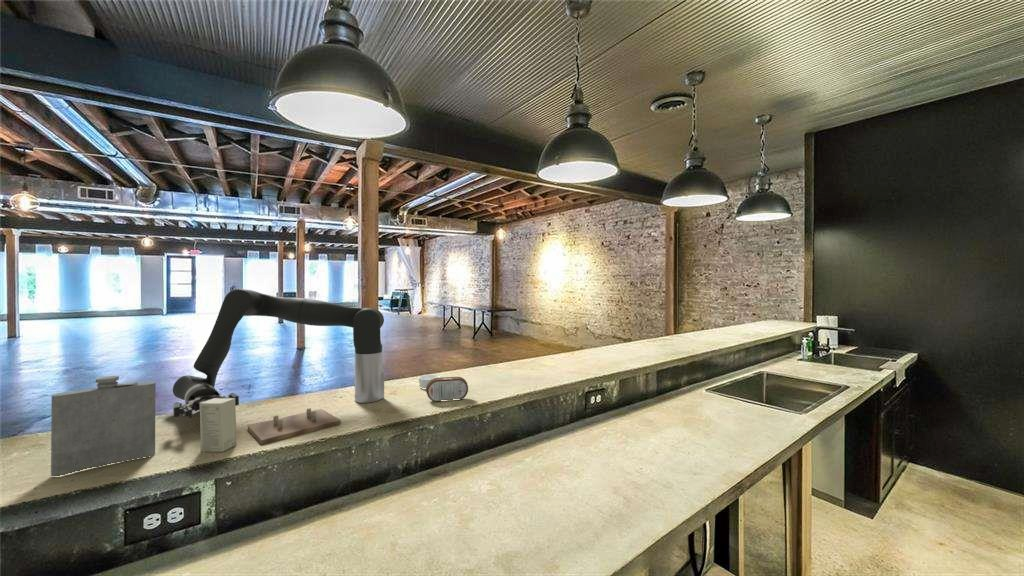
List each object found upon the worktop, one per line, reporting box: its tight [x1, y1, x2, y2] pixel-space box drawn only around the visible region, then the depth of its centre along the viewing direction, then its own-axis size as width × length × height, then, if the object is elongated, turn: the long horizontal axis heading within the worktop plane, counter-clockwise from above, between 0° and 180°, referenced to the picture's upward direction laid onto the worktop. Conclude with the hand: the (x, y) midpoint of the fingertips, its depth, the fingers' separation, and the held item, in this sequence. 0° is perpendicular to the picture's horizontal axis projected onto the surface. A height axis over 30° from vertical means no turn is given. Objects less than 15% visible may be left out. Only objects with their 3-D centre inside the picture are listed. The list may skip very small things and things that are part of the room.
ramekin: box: [418, 374, 441, 388], centre depth 150 cm, size 9×9×4 cm
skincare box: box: [199, 398, 238, 453], centre depth 92 cm, size 6×4×12 cm
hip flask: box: [50, 375, 157, 477], centre depth 84 cm, size 16×4×20 cm, turn 133°
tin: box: [425, 376, 469, 402], centre depth 132 cm, size 15×3×8 cm, turn 106°
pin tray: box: [247, 408, 342, 446], centre depth 107 cm, size 20×15×4 cm
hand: (211, 409), depth 100 cm, fingers open, 8 cm apart
